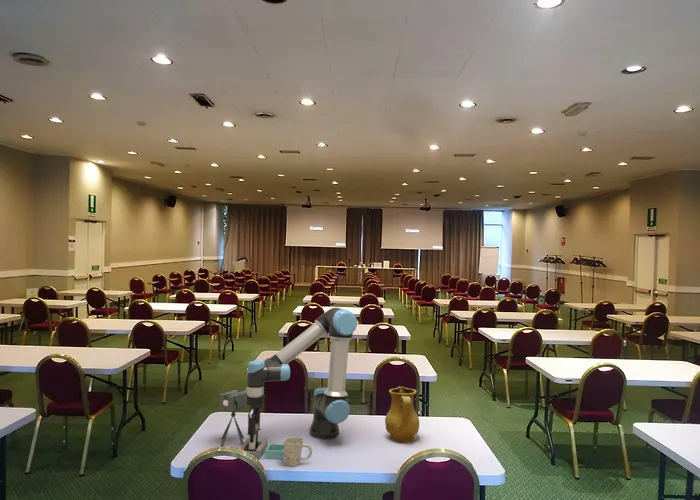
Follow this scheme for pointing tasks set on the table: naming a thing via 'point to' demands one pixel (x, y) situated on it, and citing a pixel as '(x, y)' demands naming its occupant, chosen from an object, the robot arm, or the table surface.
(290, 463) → the mug
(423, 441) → the table surface
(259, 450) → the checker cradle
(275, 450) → the tray
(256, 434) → the aa cell
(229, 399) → the camera
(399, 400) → the pitcher
